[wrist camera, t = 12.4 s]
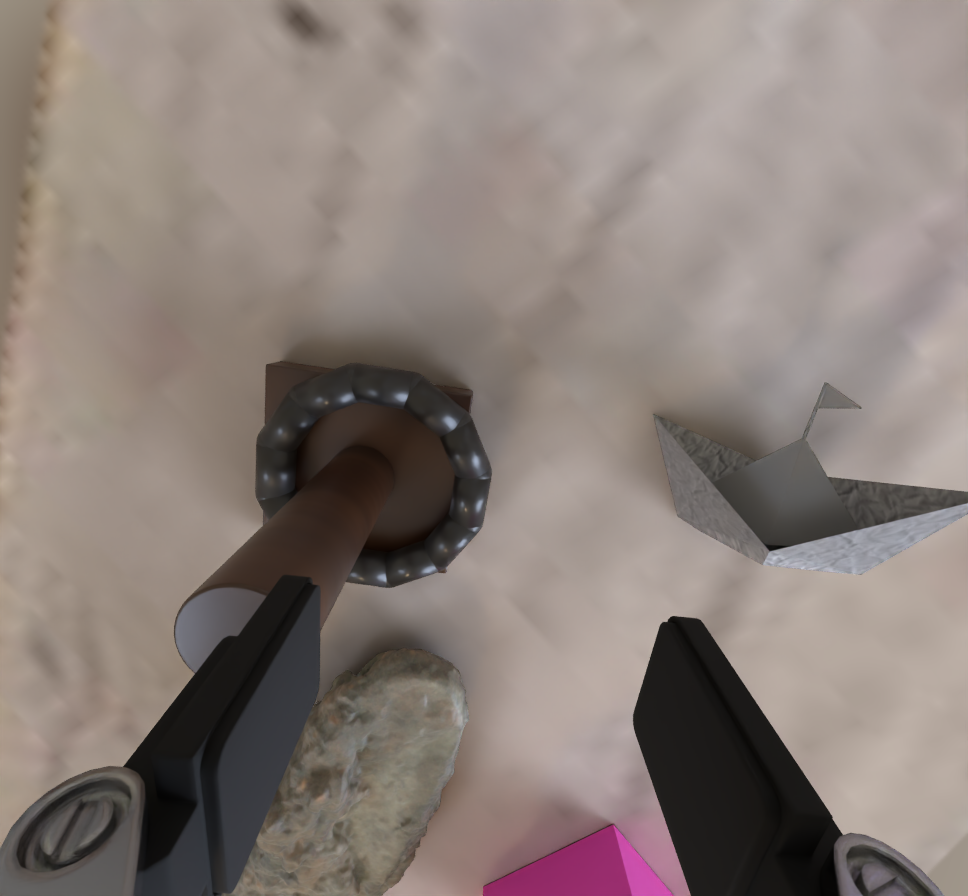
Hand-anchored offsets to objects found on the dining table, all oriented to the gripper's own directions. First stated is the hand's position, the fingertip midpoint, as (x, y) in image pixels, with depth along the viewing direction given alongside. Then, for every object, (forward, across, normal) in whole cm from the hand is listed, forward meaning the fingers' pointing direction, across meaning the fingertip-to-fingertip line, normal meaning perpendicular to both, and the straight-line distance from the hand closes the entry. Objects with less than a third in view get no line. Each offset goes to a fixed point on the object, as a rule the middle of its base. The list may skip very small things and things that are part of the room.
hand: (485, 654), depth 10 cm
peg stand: (+13, +6, +1) cm, 14 cm away
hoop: (+11, +5, +1) cm, 12 cm away
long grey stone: (+12, +8, +27) cm, 31 cm away
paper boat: (+13, -14, -1) cm, 19 cm away
